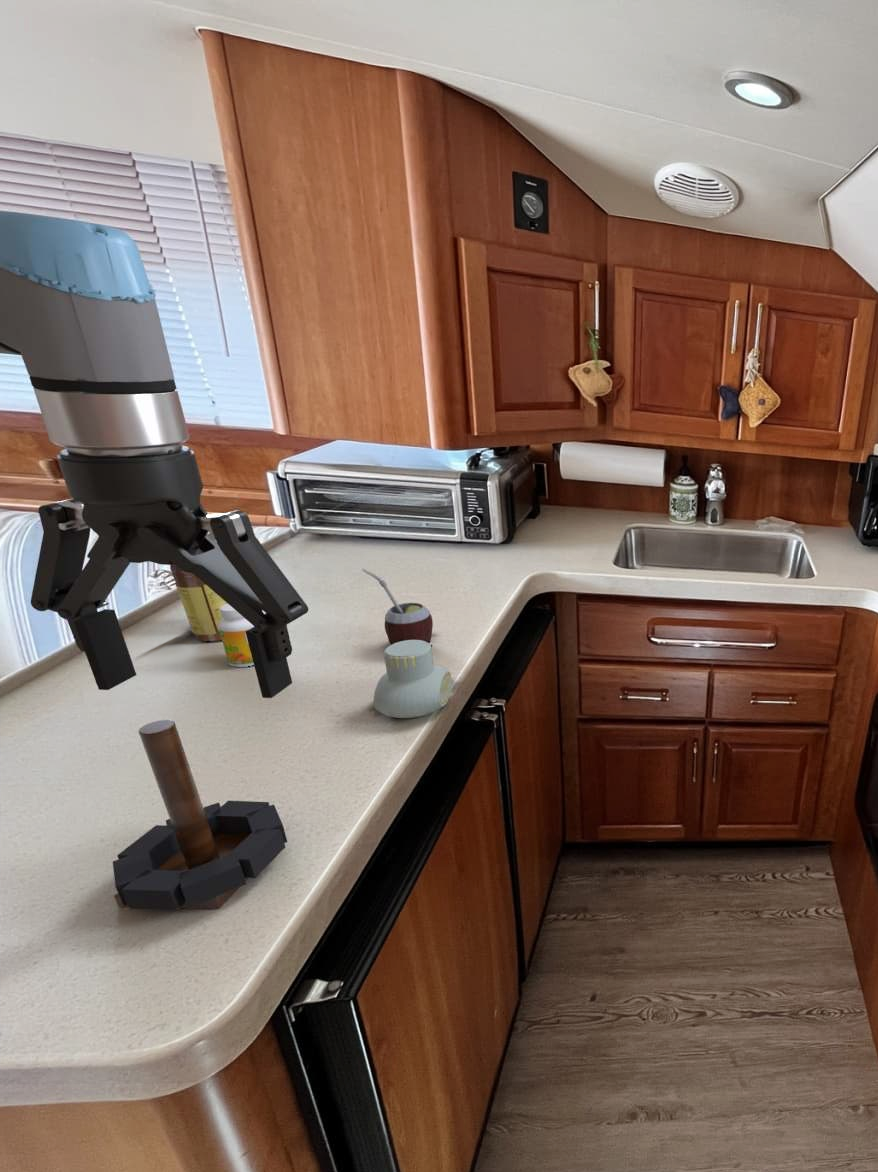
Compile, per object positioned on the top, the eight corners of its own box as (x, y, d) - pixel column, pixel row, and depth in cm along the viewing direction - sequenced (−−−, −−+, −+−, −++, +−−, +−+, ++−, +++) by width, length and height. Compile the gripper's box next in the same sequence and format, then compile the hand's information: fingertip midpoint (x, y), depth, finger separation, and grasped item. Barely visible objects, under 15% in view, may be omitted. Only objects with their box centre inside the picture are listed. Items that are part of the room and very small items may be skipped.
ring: (82, 908, 58) (73, 888, 57) (195, 816, 69) (189, 798, 68) (222, 911, 59) (215, 892, 58) (311, 820, 70) (307, 803, 69)
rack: (118, 907, 60) (52, 754, 54) (196, 839, 68) (148, 699, 62) (219, 909, 61) (166, 757, 54) (284, 841, 69) (245, 702, 63)
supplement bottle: (220, 663, 101) (204, 608, 98) (256, 650, 106) (241, 596, 103) (244, 670, 100) (229, 614, 96) (280, 656, 105) (266, 602, 101)
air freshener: (438, 725, 91) (429, 664, 87) (373, 730, 89) (360, 667, 85) (456, 687, 101) (448, 630, 97) (397, 690, 98) (387, 632, 95)
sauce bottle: (242, 625, 114) (213, 518, 106) (243, 638, 110) (213, 528, 102) (192, 633, 110) (159, 522, 102) (191, 647, 105) (156, 532, 98)
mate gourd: (443, 651, 111) (431, 570, 106) (393, 665, 105) (378, 581, 100) (425, 637, 115) (412, 559, 110) (376, 650, 110) (361, 568, 104)
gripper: (326, 452, 53) (367, 673, 61) (4, 426, 51) (90, 659, 59) (261, 468, 46) (317, 715, 54) (-114, 439, 44) (0, 700, 52)
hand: (198, 686), depth 57 cm, fingers open, 13 cm apart
